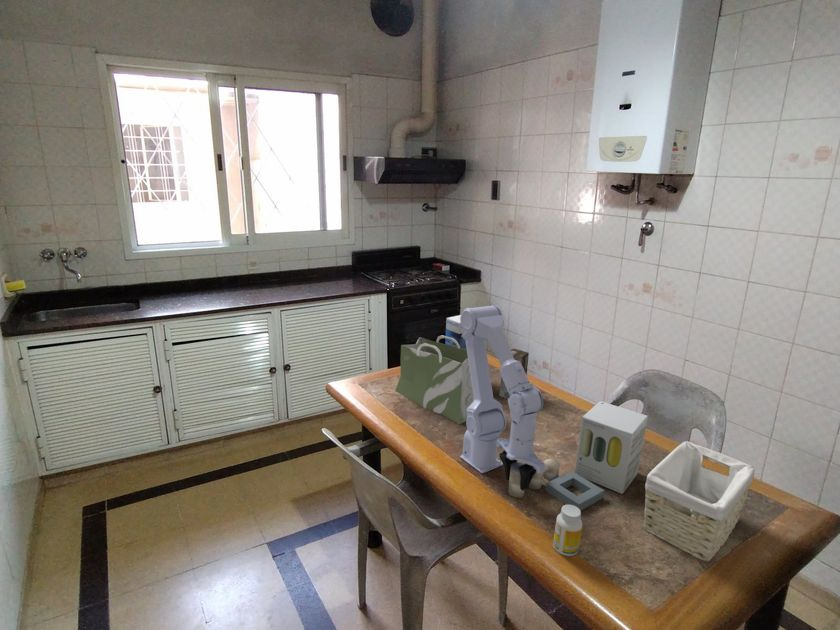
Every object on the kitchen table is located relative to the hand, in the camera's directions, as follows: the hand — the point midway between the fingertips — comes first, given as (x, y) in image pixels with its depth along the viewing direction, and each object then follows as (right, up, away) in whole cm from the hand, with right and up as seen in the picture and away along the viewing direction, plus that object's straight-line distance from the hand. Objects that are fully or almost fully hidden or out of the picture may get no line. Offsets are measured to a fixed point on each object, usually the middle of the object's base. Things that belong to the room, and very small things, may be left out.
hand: (517, 483), depth 124 cm
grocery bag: (-18, +12, +49) cm, 54 cm away
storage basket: (+39, -7, -8) cm, 40 cm away
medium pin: (+5, -2, +4) cm, 7 cm away
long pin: (0, -3, +1) cm, 3 cm away
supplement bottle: (+7, -8, -17) cm, 20 cm away
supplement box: (+26, -1, +10) cm, 28 cm away
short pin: (+10, -1, +8) cm, 13 cm away
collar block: (+15, -3, +1) cm, 15 cm away
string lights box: (-8, +17, +66) cm, 69 cm away
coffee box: (+9, +13, +56) cm, 58 cm away
